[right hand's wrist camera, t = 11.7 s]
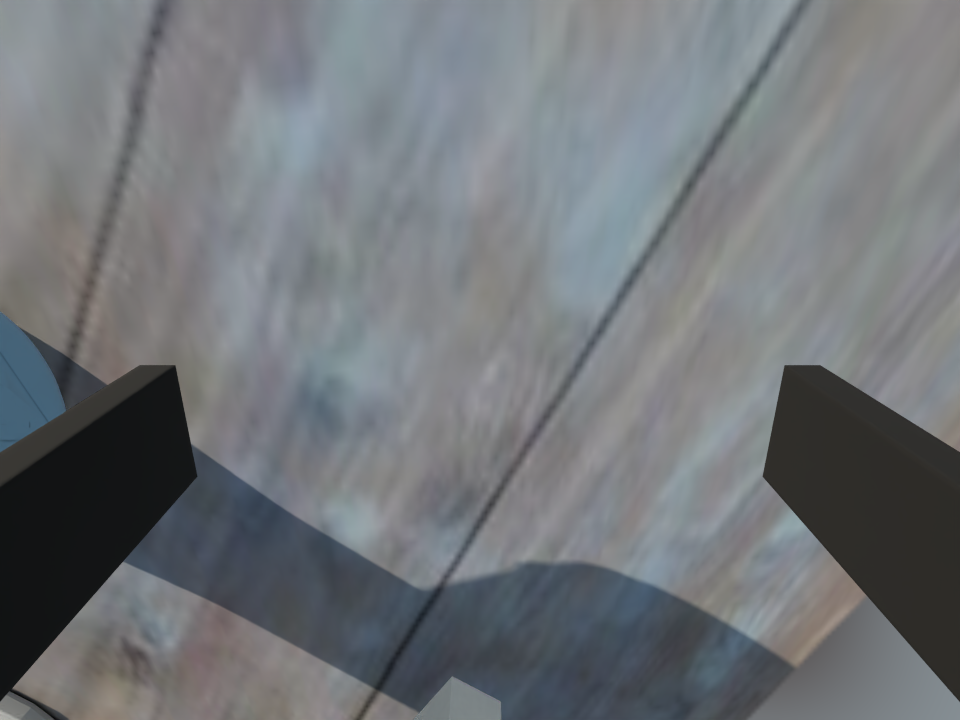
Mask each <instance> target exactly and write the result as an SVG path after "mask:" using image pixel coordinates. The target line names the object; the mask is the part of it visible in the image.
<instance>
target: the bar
mask: <svg viewBox="0 0 960 720" xmlns="http://www.w3.org/2000/svg"><path fill="white" fill-rule="evenodd" d="M413 720H501V701H499V700H497V699H495V698H493V697H491V696H489V695H487V694H486V693H484V692H482V691H480V690H478V689H476V688H474V687H472V686H470V685H468V684H466V683H464V682H462V681H461V680H459V679H457V678H455V677H453V676H452V677H451V678H450V679H449V680H448V681H447V683H446V684H445V685H444V686H443V687H442V688H441V689H440V690H439V691H438V693H437V694H436V695H435V696H434V697H433V698H432V699H431V700H430V702H429V703H428V704H427V705H426V706H425V707H424V708H423V709H422V710H421V712H420V713H419V714H418V715H417V716H416V717H415V718H414V719H413Z"/></svg>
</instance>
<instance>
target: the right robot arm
mask: <svg viewBox="0 0 960 720" xmlns="http://www.w3.org/2000/svg"><path fill="white" fill-rule="evenodd" d="M196 477H197V473H196V468H195V463H194V458H193V452H192V447H191V442H190V437H189V432H188V427H187V422H186V417H185V412H184V407H183V402H182V397H181V392H180V387H179V382H178V376H177V371H176V366H175V365H140V366H138V367H136V368H135V369H133V370H131V371H130V372H128V373H127V374H125V375H123V376H122V377H120V378H119V379H117V380H115V381H114V382H112V383H111V384H109V385H107V386H106V387H104V388H103V389H101V390H99V391H98V392H96V393H95V394H93V395H91V396H90V397H88V398H87V399H85V400H83V401H82V402H80V403H79V404H77V405H75V406H74V407H72V408H70V409H69V410H67V411H66V412H64V413H62V414H61V415H59V416H58V417H56V418H54V419H53V420H51V421H50V422H48V423H46V424H45V425H43V426H42V427H40V428H38V429H37V430H35V431H34V432H32V433H30V434H29V435H27V436H26V437H24V438H22V439H21V440H19V441H18V442H16V443H14V444H13V445H11V446H9V447H8V448H6V449H5V450H3V451H1V452H0V701H1V700H2V699H3V698H4V697H5V696H6V695H7V693H8V692H9V691H10V690H11V689H12V688H13V687H14V685H15V684H16V683H17V682H18V681H19V680H20V679H21V677H22V676H23V675H24V674H25V673H26V672H27V671H28V669H29V668H30V667H31V666H32V665H33V664H34V663H35V661H36V660H37V659H38V658H39V657H40V656H41V655H42V653H43V652H44V651H45V650H46V649H47V648H48V647H49V645H50V644H51V643H52V642H53V641H54V640H55V639H56V637H57V636H58V635H59V634H60V633H61V632H62V631H63V629H64V628H65V627H66V626H67V625H68V624H69V623H70V621H71V620H72V619H73V618H74V617H75V616H76V615H77V613H78V612H79V611H80V610H81V609H82V608H83V607H84V605H85V604H86V603H87V602H88V601H89V600H90V599H91V597H92V596H93V595H94V594H95V593H96V592H97V591H98V589H99V588H100V587H101V586H102V585H103V584H104V583H105V581H106V580H107V579H108V578H109V577H110V576H111V575H112V573H113V572H114V571H115V570H116V569H117V568H118V567H119V565H120V564H121V563H122V562H123V561H124V560H125V559H126V557H127V556H128V555H129V554H130V553H131V552H132V551H133V549H134V548H135V547H136V546H137V545H138V544H139V543H140V541H141V540H142V539H143V538H144V537H145V536H146V535H147V533H148V532H149V531H150V530H151V529H152V528H153V527H154V525H155V524H156V523H157V522H158V521H159V520H160V519H161V517H162V516H163V515H164V514H165V513H166V512H167V511H168V509H169V508H170V507H171V506H172V505H173V504H174V503H175V501H176V500H177V499H178V498H179V497H180V496H181V495H182V493H183V492H184V491H185V490H186V489H187V488H188V487H189V485H190V484H191V483H192V482H193V481H194V480H195V479H196ZM763 477H764V479H765V480H766V481H767V482H768V483H769V484H770V485H771V487H772V488H773V489H774V490H775V491H776V492H777V493H778V495H779V496H780V497H781V498H782V499H783V500H784V501H785V503H786V504H787V505H788V506H789V507H790V508H791V509H792V511H793V512H794V513H795V514H796V515H797V516H798V517H799V519H800V520H801V521H802V522H803V523H804V524H805V525H806V527H807V528H808V529H809V530H810V531H811V532H812V533H813V535H814V536H815V537H816V538H817V539H818V540H819V541H820V543H821V544H822V545H823V546H824V547H825V548H826V549H827V551H828V552H829V553H830V554H831V555H832V556H833V557H834V559H835V560H836V561H837V562H838V563H839V564H840V565H841V567H842V568H843V569H844V570H845V571H846V572H847V573H848V575H849V576H850V577H851V578H852V579H853V580H854V581H855V583H856V584H857V585H858V586H859V587H860V588H861V589H862V591H863V592H864V593H865V594H866V595H867V596H868V597H869V599H870V600H871V601H872V602H873V603H874V604H875V605H876V607H877V608H878V609H879V610H880V611H881V612H882V613H883V615H884V616H885V617H886V618H887V619H888V620H889V621H890V623H891V624H892V625H893V626H894V627H895V628H896V629H897V631H898V632H899V633H900V634H901V635H902V636H903V637H904V639H905V640H906V641H907V642H908V643H909V644H910V645H911V647H912V648H913V649H914V650H915V651H916V652H917V653H918V655H919V656H920V657H921V658H922V659H923V660H924V661H925V663H926V664H927V665H928V666H929V667H930V668H931V669H932V671H933V672H934V673H935V674H936V675H937V676H938V677H939V679H940V680H941V681H942V682H943V683H944V684H945V685H946V687H947V688H948V689H949V690H950V691H951V692H952V693H953V695H954V696H955V697H956V698H957V699H958V700H959V701H960V452H959V451H957V450H955V449H954V448H952V447H951V446H949V445H947V444H946V443H944V442H942V441H941V440H939V439H938V438H936V437H934V436H933V435H931V434H930V433H928V432H926V431H925V430H923V429H922V428H920V427H918V426H917V425H915V424H914V423H912V422H910V421H909V420H907V419H906V418H904V417H902V416H901V415H899V414H898V413H896V412H894V411H893V410H891V409H890V408H888V407H886V406H885V405H883V404H881V403H880V402H878V401H877V400H875V399H873V398H872V397H870V396H869V395H867V394H865V393H864V392H862V391H861V390H859V389H857V388H856V387H854V386H853V385H851V384H849V383H848V382H846V381H845V380H843V379H841V378H840V377H838V376H837V375H835V374H833V373H832V372H830V371H829V370H827V369H825V368H824V367H822V366H820V365H785V366H784V371H783V376H782V382H781V387H780V392H779V397H778V402H777V407H776V412H775V417H774V422H773V427H772V432H771V437H770V442H769V447H768V452H767V457H766V463H765V468H764V473H763Z"/></svg>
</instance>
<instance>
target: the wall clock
mask: <svg viewBox="0 0 960 720" xmlns="http://www.w3.org/2000/svg"><path fill="white" fill-rule="evenodd" d="M0 720H54V719H53V718H52V717H50V716H49V715H48V714H47V713H45V712H44V711H43V710H41V709H40V708H39V707H37V706H36V705H35V704H33V703H31V702H29V701H27V700H25V699H24V698H22V697H20V696H18V695H16V694H14V693H12V692H10V691H9V692H8V693H7V695H6V696H5V697H4V698H3V699H2V700H1V701H0Z"/></svg>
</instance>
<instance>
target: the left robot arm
mask: <svg viewBox="0 0 960 720" xmlns="http://www.w3.org/2000/svg"><path fill="white" fill-rule="evenodd" d="M64 412H66V408H65V404H64V401H63V398H62V395H61V392H60V389H59V386H58V384H57V382H56V379H55V377H54V375H53V373H52V371H51V369H50V368H49V366H48V364H47V362H46V361H45V359H44V358H43V356H42V355H41V353H40V352H39V350H38V349H37V348H36V346H35V345H34V344H33V342H32V341H31V340H30V339H29V338H28V337H27V335H26V334H25V333H24V332H23V331H22V330H21V329H20V328H19V327H18V326H17V325H16V324H15V323H13V322H12V321H11V320H10V319H9V318H8V317H7V316H5V315H4V314H3V313H1V312H0V452H1V451H3V450H5V449H6V448H8V447H9V446H11V445H13V444H14V443H16V442H18V441H19V440H21V439H22V438H24V437H26V436H27V435H29V434H30V433H32V432H34V431H35V430H37V429H38V428H40V427H42V426H43V425H45V424H46V423H48V422H50V421H51V420H53V419H54V418H56V417H58V416H59V415H61V414H62V413H64Z"/></svg>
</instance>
